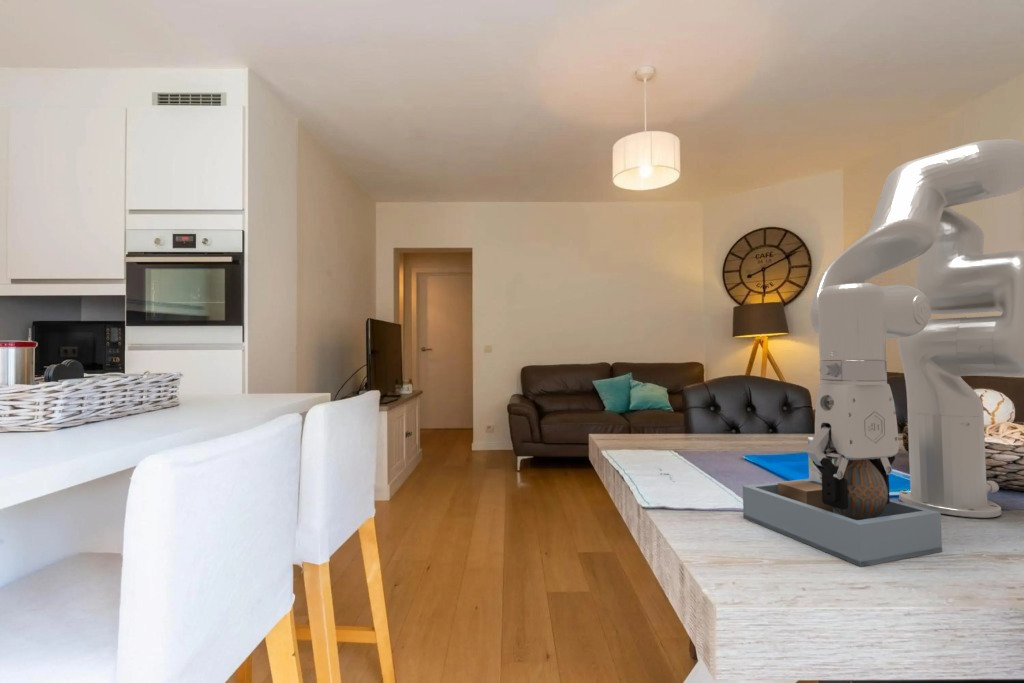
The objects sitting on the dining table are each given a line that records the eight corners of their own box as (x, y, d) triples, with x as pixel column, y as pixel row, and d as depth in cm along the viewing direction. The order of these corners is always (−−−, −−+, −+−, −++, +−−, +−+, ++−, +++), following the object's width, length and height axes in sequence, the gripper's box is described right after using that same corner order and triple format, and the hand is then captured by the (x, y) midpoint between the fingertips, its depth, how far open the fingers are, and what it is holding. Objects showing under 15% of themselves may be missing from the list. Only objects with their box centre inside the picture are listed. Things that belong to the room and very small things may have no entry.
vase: (863, 508, 68) (862, 447, 68) (902, 525, 61) (900, 456, 61) (814, 507, 68) (813, 446, 68) (847, 524, 61) (845, 456, 61)
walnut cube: (833, 522, 70) (832, 488, 70) (807, 526, 69) (806, 491, 69) (803, 511, 75) (802, 480, 75) (778, 515, 74) (778, 482, 74)
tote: (813, 508, 79) (812, 478, 79) (942, 551, 61) (940, 512, 61) (743, 517, 74) (742, 485, 74) (860, 566, 57) (859, 524, 57)
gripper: (830, 374, 59) (834, 519, 58) (926, 373, 64) (931, 506, 63) (780, 373, 66) (782, 501, 65) (870, 372, 71) (873, 491, 71)
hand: (855, 502), depth 64 cm, fingers closed on vase, 6 cm apart
